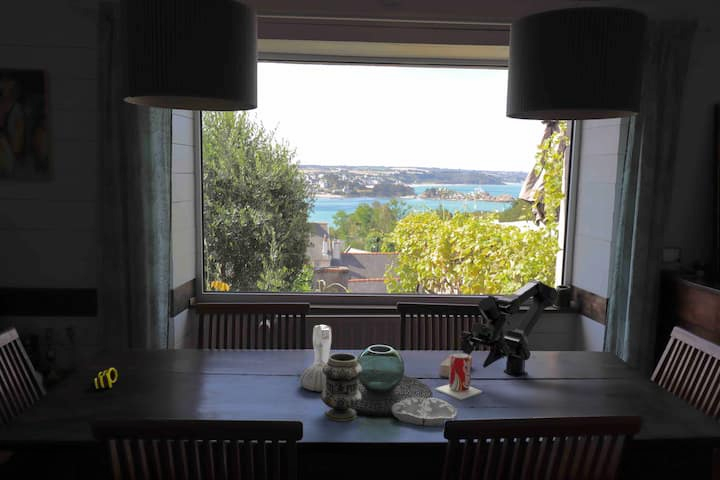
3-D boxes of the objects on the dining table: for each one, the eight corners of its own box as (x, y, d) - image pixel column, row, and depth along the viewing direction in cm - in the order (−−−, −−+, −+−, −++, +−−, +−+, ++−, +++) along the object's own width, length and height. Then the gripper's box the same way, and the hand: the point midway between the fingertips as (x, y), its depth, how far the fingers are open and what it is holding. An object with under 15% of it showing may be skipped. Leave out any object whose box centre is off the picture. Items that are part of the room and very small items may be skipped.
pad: (456, 383, 202) (456, 381, 202) (481, 392, 194) (481, 390, 194) (435, 390, 195) (435, 388, 195) (460, 399, 187) (460, 398, 187)
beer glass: (334, 365, 219) (335, 326, 218) (323, 370, 213) (324, 330, 212) (319, 361, 223) (320, 324, 222) (308, 366, 217) (309, 327, 216)
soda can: (459, 394, 190) (461, 359, 189) (444, 388, 195) (445, 353, 194) (474, 390, 194) (475, 355, 193) (458, 384, 200) (460, 350, 199)
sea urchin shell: (309, 378, 204) (309, 356, 203) (345, 384, 200) (345, 361, 199) (293, 391, 192) (293, 367, 191) (330, 397, 187) (331, 373, 186)
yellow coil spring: (102, 382, 198) (99, 368, 197) (118, 379, 198) (115, 365, 198) (95, 392, 188) (91, 378, 187) (112, 389, 189) (108, 374, 188)
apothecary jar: (362, 423, 167) (364, 362, 165) (321, 423, 166) (322, 362, 164) (359, 407, 179) (360, 350, 177) (320, 407, 178) (321, 350, 176)
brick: (460, 380, 207) (461, 367, 207) (438, 376, 211) (439, 363, 210) (472, 367, 222) (473, 355, 222) (451, 364, 226) (452, 352, 225)
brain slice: (456, 408, 180) (456, 399, 180) (457, 431, 164) (457, 421, 163) (394, 403, 183) (394, 394, 183) (388, 425, 167) (388, 415, 166)
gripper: (463, 309, 207) (442, 344, 201) (506, 319, 193) (485, 357, 187) (476, 327, 213) (456, 361, 207) (519, 338, 199) (498, 375, 193)
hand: (472, 363), depth 198 cm, fingers open, 9 cm apart
